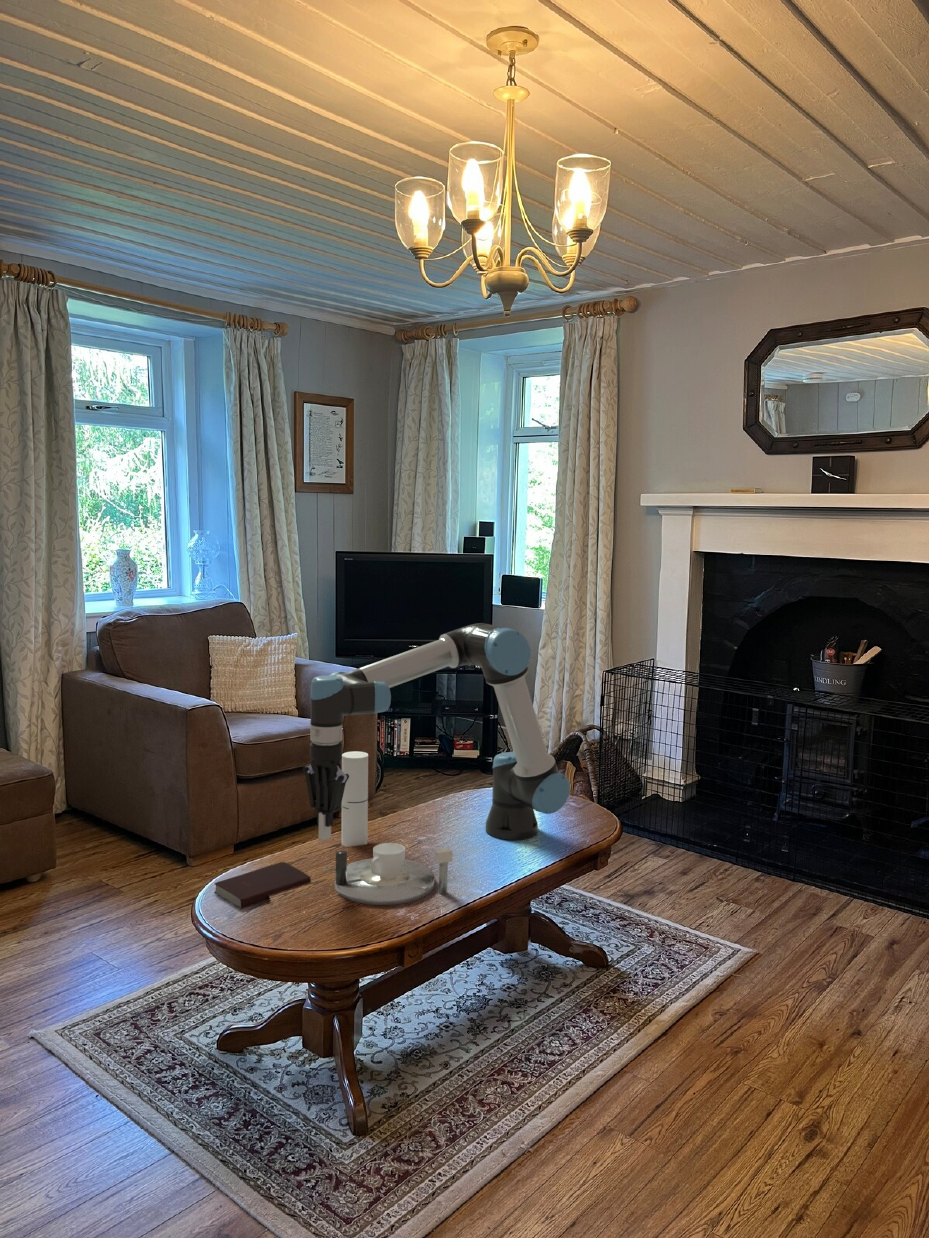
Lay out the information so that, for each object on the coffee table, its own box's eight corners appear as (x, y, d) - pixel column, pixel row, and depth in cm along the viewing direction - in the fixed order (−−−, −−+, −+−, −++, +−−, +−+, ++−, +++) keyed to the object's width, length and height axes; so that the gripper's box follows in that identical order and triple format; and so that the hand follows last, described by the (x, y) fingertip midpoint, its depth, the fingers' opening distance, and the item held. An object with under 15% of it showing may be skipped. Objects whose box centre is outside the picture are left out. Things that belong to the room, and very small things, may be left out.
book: (311, 888, 218) (311, 875, 217) (241, 911, 204) (241, 897, 204) (282, 873, 227) (282, 860, 226) (213, 894, 213) (213, 881, 213)
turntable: (412, 859, 233) (412, 824, 232) (450, 895, 211) (450, 856, 210) (321, 873, 222) (321, 836, 221) (351, 912, 201) (352, 871, 200)
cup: (411, 874, 218) (411, 847, 217) (383, 887, 210) (384, 859, 209) (387, 866, 222) (387, 840, 222) (359, 878, 214) (360, 851, 214)
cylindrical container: (362, 848, 243) (363, 759, 240) (337, 846, 244) (338, 757, 241) (370, 839, 250) (371, 752, 247) (346, 837, 251) (346, 750, 248)
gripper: (294, 740, 212) (293, 836, 214) (335, 749, 204) (334, 849, 207) (317, 734, 218) (315, 828, 220) (357, 743, 210) (355, 840, 213)
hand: (324, 838), depth 213 cm, fingers closed
